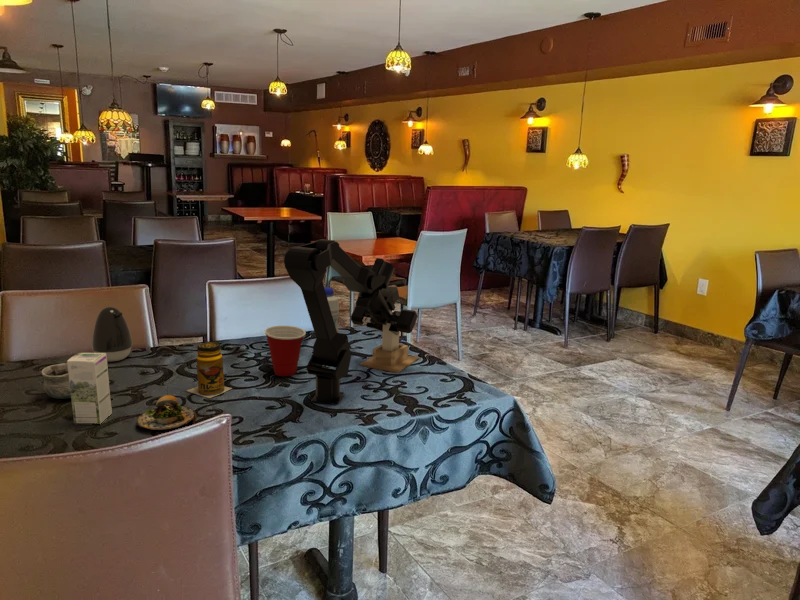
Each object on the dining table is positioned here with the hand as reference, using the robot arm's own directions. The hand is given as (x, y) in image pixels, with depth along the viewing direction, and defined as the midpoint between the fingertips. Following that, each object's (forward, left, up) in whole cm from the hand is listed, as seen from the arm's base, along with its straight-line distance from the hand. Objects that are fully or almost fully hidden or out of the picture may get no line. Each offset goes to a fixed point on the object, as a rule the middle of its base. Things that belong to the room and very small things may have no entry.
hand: (393, 333), depth 165 cm
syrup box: (-53, +56, -9) cm, 78 cm away
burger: (-51, +40, -9) cm, 66 cm away
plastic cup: (-16, +26, -9) cm, 32 cm away
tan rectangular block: (-1, 0, -7) cm, 7 cm away
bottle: (+4, +20, -9) cm, 23 cm away
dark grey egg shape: (-16, +77, -9) cm, 80 cm away
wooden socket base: (-1, 0, -8) cm, 9 cm away
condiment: (-32, +40, -9) cm, 52 cm away
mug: (-42, +69, -9) cm, 82 cm away
